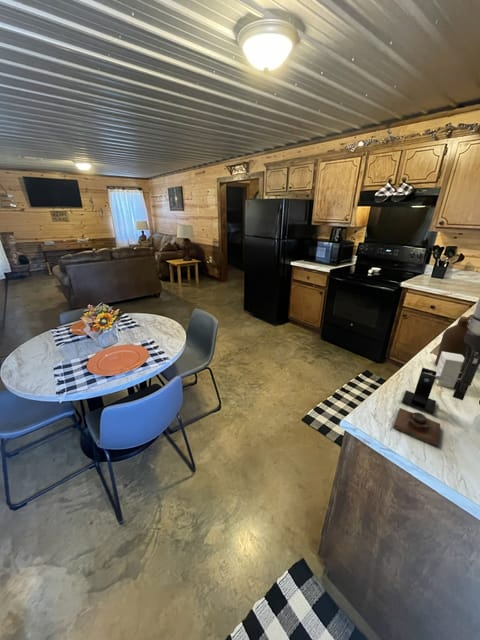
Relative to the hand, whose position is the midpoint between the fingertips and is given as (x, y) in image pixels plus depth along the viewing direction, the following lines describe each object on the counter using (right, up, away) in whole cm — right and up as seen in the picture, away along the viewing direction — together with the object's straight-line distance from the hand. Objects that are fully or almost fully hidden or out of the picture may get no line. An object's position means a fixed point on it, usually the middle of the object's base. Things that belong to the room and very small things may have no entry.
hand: (458, 393), depth 90 cm
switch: (-4, +4, +2) cm, 5 cm away
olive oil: (+22, +3, +33) cm, 40 cm away
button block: (-16, -11, -2) cm, 20 cm away
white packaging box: (+12, -1, +22) cm, 25 cm away
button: (-16, -8, -4) cm, 18 cm away
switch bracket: (-8, -6, +9) cm, 13 cm away
